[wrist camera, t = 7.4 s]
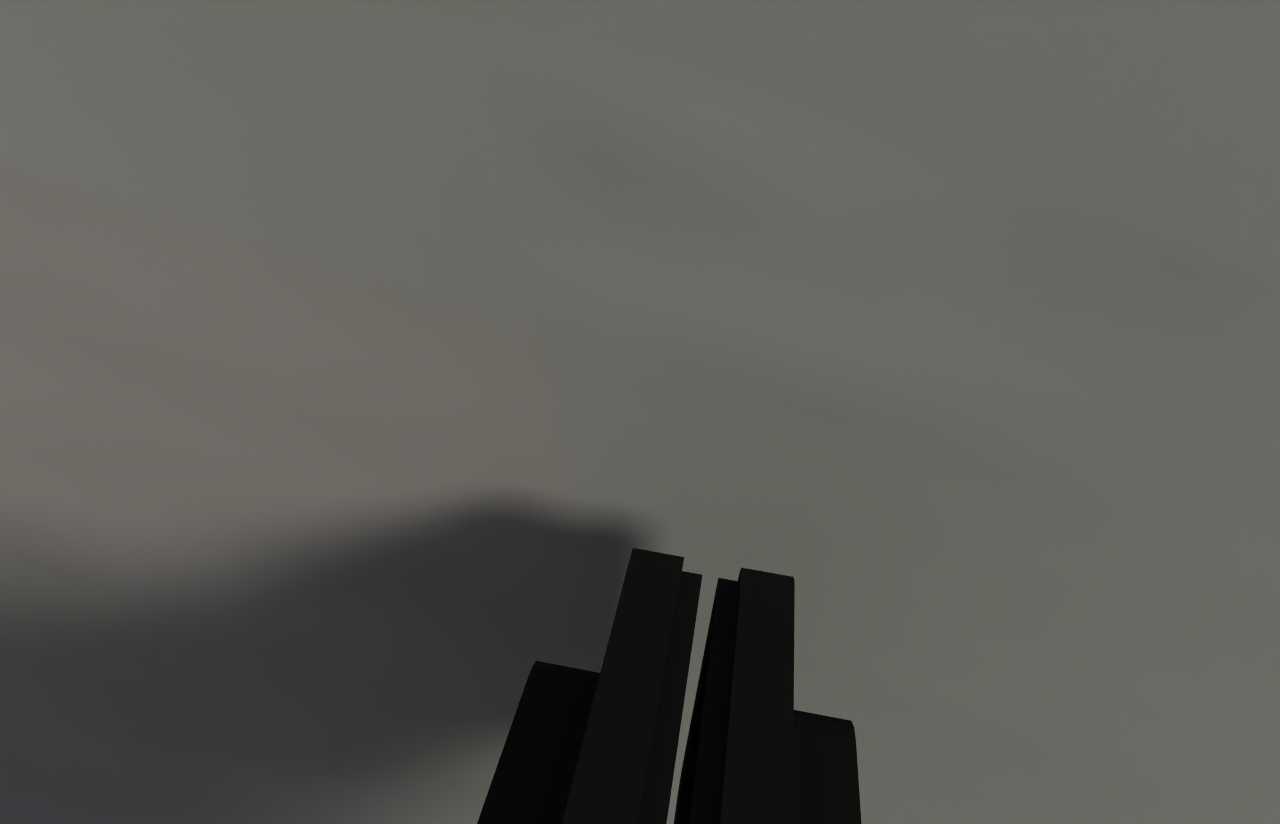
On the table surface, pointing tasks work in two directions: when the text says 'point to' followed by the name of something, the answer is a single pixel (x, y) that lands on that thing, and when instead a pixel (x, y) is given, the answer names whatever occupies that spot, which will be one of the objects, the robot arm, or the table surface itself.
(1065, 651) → the table surface
